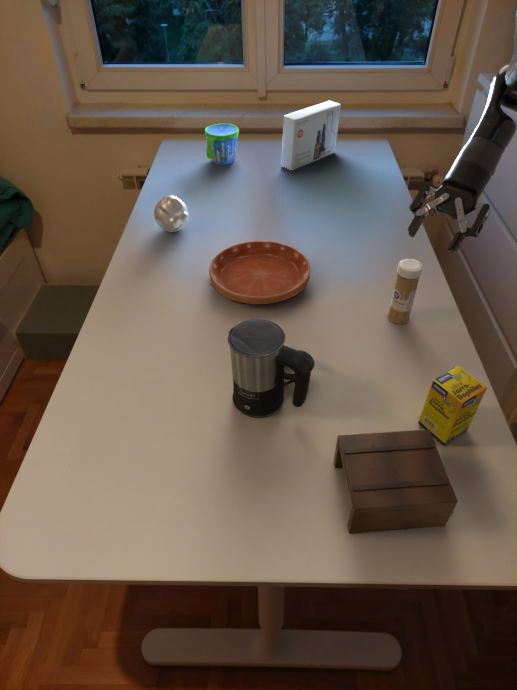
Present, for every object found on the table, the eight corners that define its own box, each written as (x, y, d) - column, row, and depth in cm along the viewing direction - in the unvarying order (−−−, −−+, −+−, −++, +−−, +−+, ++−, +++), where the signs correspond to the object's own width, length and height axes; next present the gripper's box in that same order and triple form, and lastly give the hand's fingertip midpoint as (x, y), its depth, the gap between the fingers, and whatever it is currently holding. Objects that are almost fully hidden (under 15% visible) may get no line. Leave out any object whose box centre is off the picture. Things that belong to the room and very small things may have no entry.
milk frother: (227, 415, 87) (222, 353, 77) (241, 352, 98) (239, 291, 88) (309, 423, 85) (315, 362, 75) (314, 359, 97) (320, 298, 87)
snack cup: (221, 173, 157) (219, 140, 150) (195, 165, 162) (192, 133, 155) (250, 156, 167) (249, 124, 160) (225, 149, 171) (223, 118, 164)
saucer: (189, 280, 116) (188, 267, 113) (259, 242, 128) (259, 229, 125) (260, 325, 104) (260, 311, 101) (329, 279, 116) (331, 265, 113)
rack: (419, 456, 80) (429, 428, 75) (445, 526, 72) (458, 500, 67) (333, 461, 80) (337, 434, 75) (348, 534, 71) (354, 508, 66)
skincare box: (292, 172, 157) (294, 119, 147) (280, 166, 160) (281, 115, 150) (336, 153, 168) (341, 103, 157) (324, 148, 171) (328, 99, 160)
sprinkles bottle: (382, 317, 106) (394, 263, 96) (395, 308, 108) (408, 254, 99) (400, 328, 103) (414, 273, 94) (413, 318, 105) (428, 264, 96)
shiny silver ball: (154, 240, 129) (148, 204, 122) (158, 221, 136) (153, 186, 129) (189, 239, 129) (185, 203, 122) (192, 220, 136) (188, 185, 129)
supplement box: (444, 447, 82) (462, 403, 74) (416, 423, 85) (431, 379, 78) (468, 431, 84) (488, 387, 76) (441, 408, 88) (457, 364, 80)
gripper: (436, 149, 97) (393, 224, 99) (508, 170, 90) (460, 250, 92) (442, 167, 104) (402, 237, 105) (510, 188, 96) (466, 263, 98)
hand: (429, 243), depth 99 cm, fingers open, 8 cm apart
